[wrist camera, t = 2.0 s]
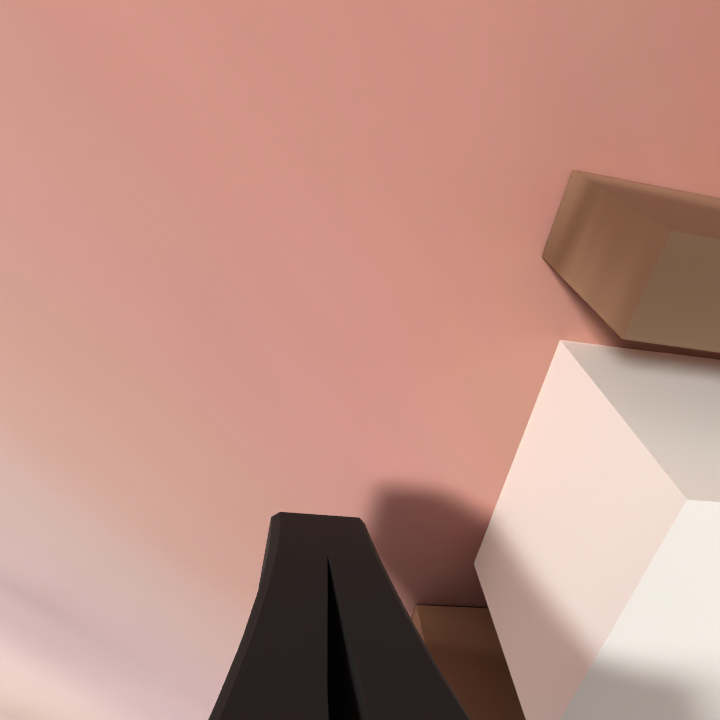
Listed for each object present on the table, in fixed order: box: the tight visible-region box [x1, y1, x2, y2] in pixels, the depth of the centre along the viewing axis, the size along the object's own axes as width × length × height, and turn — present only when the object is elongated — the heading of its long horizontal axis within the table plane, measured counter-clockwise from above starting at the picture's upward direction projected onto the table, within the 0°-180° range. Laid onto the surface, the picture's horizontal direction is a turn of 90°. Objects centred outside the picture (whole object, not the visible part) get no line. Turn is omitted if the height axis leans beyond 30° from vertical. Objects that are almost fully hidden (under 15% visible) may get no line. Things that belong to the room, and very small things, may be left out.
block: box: [474, 340, 720, 720], centre depth 12 cm, size 6×6×4 cm
